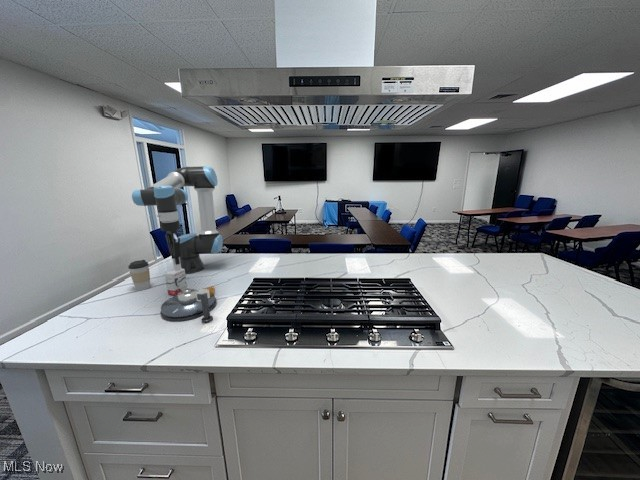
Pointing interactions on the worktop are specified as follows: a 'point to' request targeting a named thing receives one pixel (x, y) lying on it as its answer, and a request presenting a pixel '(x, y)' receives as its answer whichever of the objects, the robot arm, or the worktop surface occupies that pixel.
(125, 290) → the worktop surface
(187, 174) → the robot arm
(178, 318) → the base
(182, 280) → the ink box
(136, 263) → the coffee cup
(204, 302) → the dial post
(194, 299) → the cover
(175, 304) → the turntable
